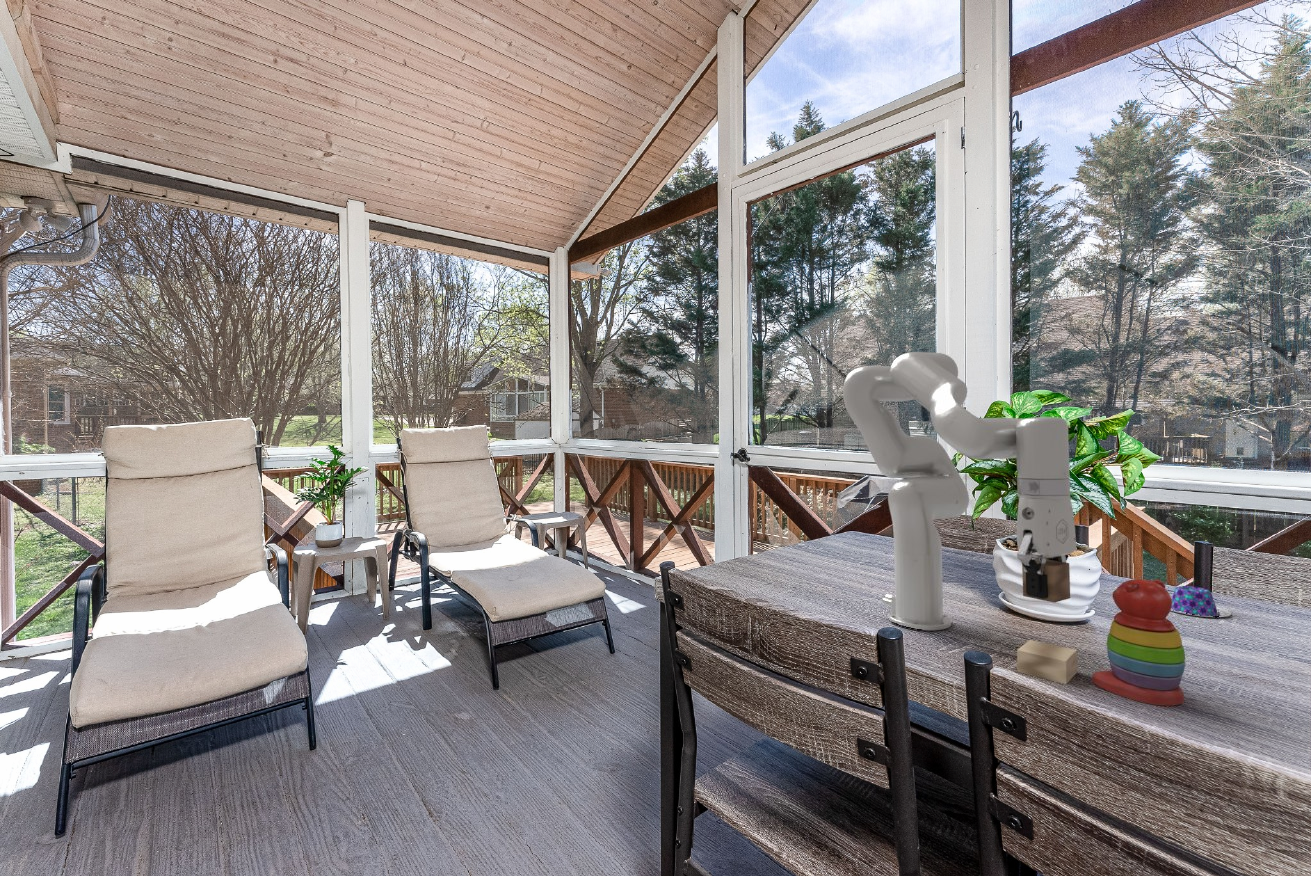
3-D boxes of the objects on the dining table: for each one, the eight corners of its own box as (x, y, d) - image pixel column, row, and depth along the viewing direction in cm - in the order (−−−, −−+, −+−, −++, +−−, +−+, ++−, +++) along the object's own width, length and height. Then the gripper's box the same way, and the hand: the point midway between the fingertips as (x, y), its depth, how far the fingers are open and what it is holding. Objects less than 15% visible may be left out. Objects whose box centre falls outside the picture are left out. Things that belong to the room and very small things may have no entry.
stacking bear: (1148, 677, 96) (1146, 570, 96) (1208, 705, 86) (1206, 586, 86) (1084, 679, 95) (1083, 572, 95) (1138, 708, 85) (1136, 588, 85)
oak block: (1017, 673, 99) (1017, 649, 99) (1030, 661, 104) (1029, 639, 104) (1066, 685, 94) (1065, 661, 94) (1077, 673, 99) (1076, 649, 98)
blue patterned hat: (1150, 610, 131) (1149, 587, 131) (1168, 600, 138) (1167, 579, 138) (1222, 623, 121) (1221, 599, 121) (1237, 613, 128) (1237, 589, 128)
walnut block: (1054, 602, 96) (1053, 566, 96) (1023, 595, 100) (1022, 561, 100) (1070, 598, 98) (1069, 562, 98) (1039, 591, 102) (1038, 558, 102)
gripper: (1038, 493, 92) (1042, 607, 92) (1093, 487, 100) (1096, 591, 100) (992, 490, 98) (995, 596, 98) (1047, 484, 107) (1050, 582, 106)
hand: (1046, 593), depth 99 cm, fingers closed on walnut block, 5 cm apart
